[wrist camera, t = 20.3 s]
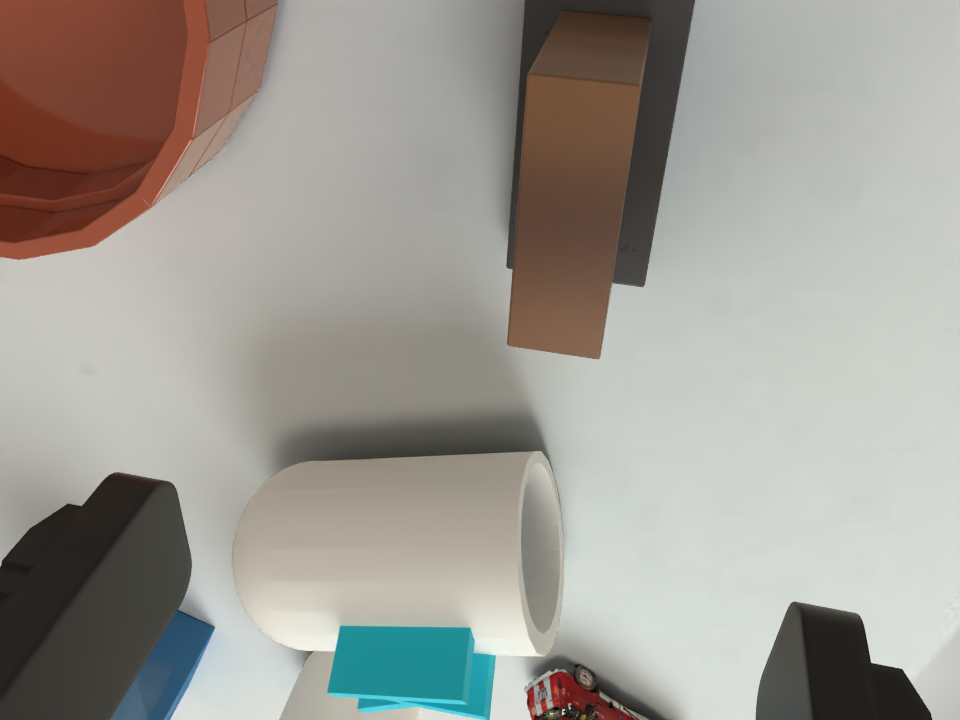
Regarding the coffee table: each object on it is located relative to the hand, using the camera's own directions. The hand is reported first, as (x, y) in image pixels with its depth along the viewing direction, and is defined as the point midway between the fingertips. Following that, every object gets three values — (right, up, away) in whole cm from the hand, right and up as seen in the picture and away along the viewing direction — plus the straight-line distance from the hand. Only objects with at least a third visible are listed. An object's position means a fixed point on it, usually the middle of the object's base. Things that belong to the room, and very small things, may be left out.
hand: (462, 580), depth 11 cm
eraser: (+4, +10, +15) cm, 18 cm away
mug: (-2, -4, +26) cm, 26 cm away
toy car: (+6, -13, +30) cm, 34 cm away
